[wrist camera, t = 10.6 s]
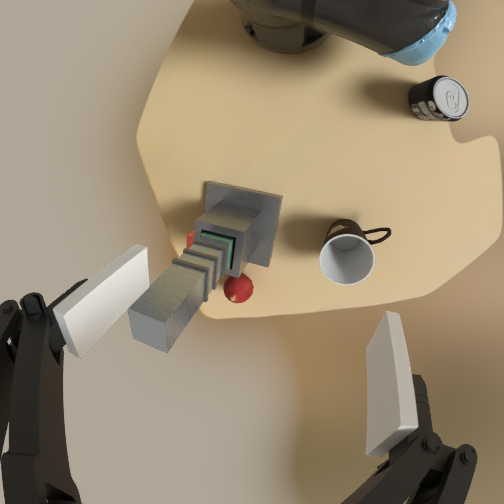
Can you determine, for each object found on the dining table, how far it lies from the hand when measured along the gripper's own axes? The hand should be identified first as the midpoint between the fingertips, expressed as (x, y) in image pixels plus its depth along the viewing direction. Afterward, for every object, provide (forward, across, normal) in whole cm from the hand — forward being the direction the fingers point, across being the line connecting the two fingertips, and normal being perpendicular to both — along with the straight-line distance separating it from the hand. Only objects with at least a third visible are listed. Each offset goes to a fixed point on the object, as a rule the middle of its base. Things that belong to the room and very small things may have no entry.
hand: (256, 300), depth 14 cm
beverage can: (+37, +17, +18) cm, 44 cm away
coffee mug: (+37, +10, -9) cm, 39 cm away
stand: (+37, -11, -12) cm, 40 cm away
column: (+27, -11, -12) cm, 32 cm away
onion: (+37, -9, -24) cm, 45 cm away
